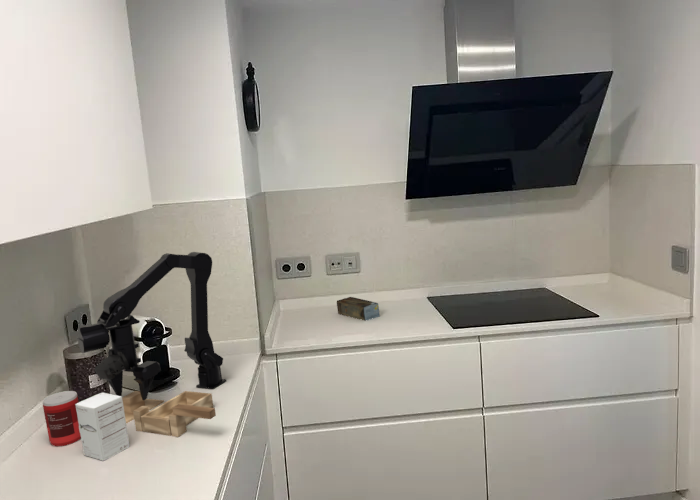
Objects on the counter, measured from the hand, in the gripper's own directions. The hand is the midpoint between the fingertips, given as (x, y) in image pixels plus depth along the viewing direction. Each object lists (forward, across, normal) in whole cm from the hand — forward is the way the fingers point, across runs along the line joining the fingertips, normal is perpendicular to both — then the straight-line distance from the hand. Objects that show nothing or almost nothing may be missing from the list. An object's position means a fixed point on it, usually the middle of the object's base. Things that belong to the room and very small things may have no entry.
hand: (131, 398), depth 150 cm
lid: (+4, 0, -1) cm, 4 cm away
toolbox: (+4, +18, -2) cm, 18 cm away
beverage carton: (+4, +24, +98) cm, 101 cm away
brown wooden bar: (-2, +29, -8) cm, 30 cm away
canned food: (+4, -4, -18) cm, 18 cm away
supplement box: (+4, +12, -20) cm, 23 cm away
